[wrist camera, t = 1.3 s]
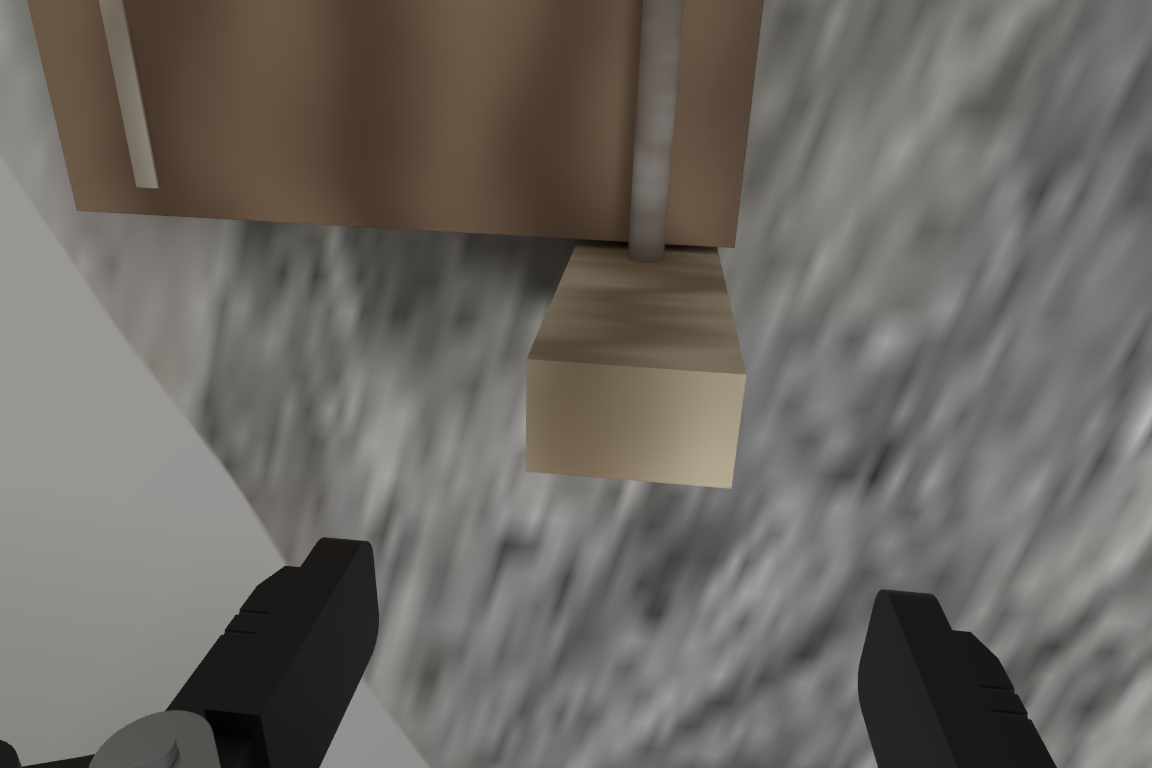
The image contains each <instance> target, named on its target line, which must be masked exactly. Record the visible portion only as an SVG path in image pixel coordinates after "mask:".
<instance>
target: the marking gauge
mask: <svg viewBox="0 0 1152 768" xmlns="http://www.w3.org/2000/svg"><path fill="white" fill-rule="evenodd" d="M683 7H684V0H643V12H642V29H641V45H640V62H639V79H638V95H637V112H636V129H635V145H634V162H633V179H632V196H631V212H630V229H629V242H622V241H604V240H587V239H578V241H577V243H576V246H575V248H574V250H573V253H572V255H571V257H570V260H569V262H568V264H567V267H566V269H565V271H564V274H563V276H562V278H561V281H560V283H559V285H558V288H557V290H556V292H555V295H554V297H553V299H552V302H551V304H550V306H549V309H548V311H547V313H546V316H545V318H544V320H543V322H542V325H541V327H540V329H539V332H538V334H537V336H536V339H535V341H534V343H533V346H532V348H531V350H530V353H529V355H528V357H527V400H526V472H538V473H550V474H562V475H574V476H586V477H598V478H610V479H623V480H635V481H647V482H659V483H671V484H683V485H695V486H707V487H720V488H731V487H732V479H733V472H734V464H735V457H736V449H737V442H738V434H739V427H740V419H741V412H742V404H743V397H744V389H745V382H746V371H745V366H744V362H743V358H742V353H741V349H740V345H739V341H738V336H737V332H736V328H735V323H734V319H733V315H732V310H731V306H730V302H729V298H728V293H727V289H726V285H725V280H724V276H723V272H722V267H721V263H720V259H719V255H718V250H717V247H710V246H693V245H675V244H665V233H666V221H667V208H668V195H669V183H670V170H671V158H672V145H673V132H674V120H675V107H676V95H677V82H678V70H679V57H680V44H681V32H682V19H683Z"/></svg>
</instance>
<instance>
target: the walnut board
mask: <svg viewBox="0 0 1152 768" xmlns="http://www.w3.org/2000/svg"><path fill="white" fill-rule="evenodd" d="M27 1H28V5H29V9H30V13H31V18H32V22H33V26H34V30H35V34H36V39H37V43H38V47H39V51H40V56H41V60H42V64H43V68H44V73H45V77H46V81H47V85H48V90H49V94H50V98H51V102H52V107H53V111H54V115H55V119H56V123H57V128H58V132H59V136H60V140H61V145H62V149H63V153H64V157H65V162H66V166H67V170H68V174H69V179H70V183H71V187H72V191H73V195H74V200H75V204H76V208H77V211H92V212H110V213H128V214H145V215H163V216H180V217H198V218H216V219H233V220H251V221H269V222H286V223H304V224H322V225H339V226H357V227H375V228H392V229H410V230H428V231H445V232H463V233H481V234H498V235H516V236H534V237H551V238H569V239H587V240H604V241H622V242H629V229H630V212H631V196H632V179H633V162H634V145H635V129H636V112H637V95H638V79H639V62H640V45H641V29H642V12H643V0H27ZM763 1H764V0H684V7H683V19H682V32H681V44H680V57H679V70H678V82H677V95H676V107H675V120H674V132H673V145H672V158H671V170H670V183H669V195H668V208H667V221H666V233H665V244H675V245H693V246H710V247H728V248H734V247H735V238H736V230H737V221H738V213H739V204H740V196H741V187H742V179H743V170H744V162H745V153H746V145H747V136H748V128H749V119H750V111H751V102H752V94H753V85H754V77H755V68H756V60H757V52H758V43H759V35H760V26H761V18H762V9H763Z"/></svg>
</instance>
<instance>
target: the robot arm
mask: <svg viewBox="0 0 1152 768" xmlns="http://www.w3.org/2000/svg"><path fill="white" fill-rule="evenodd" d="M378 627H379V610H378V600H377V589H376V578H375V567H374V557H373V549H372V546H371V544H370V542H368V541H360V540H349V539H338V538H327V537H323V538H321V539H320V540H319V541H318V542H317V543H316V545H315V546H314V548H313V549H312V551H311V552H310V554H309V555H308V557H307V558H306V559H305V561H304V562H303V564H302V565H301V567H292V566H284V567H283V568H281V569H280V570H279V571H277V572H276V573H275V574H273V575H272V576H270V577H269V578H267V579H266V580H264V581H263V582H262V583H260V584H259V585H257V587H256V588H255V590H254V591H253V592H252V594H251V595H250V596H249V598H248V599H247V600H246V602H245V603H244V604H243V606H242V607H241V608H240V612H239V615H235V617H234V618H233V619H232V621H231V622H230V624H229V625H228V626H227V628H226V629H225V633H224V635H221V636H220V637H219V639H218V640H217V641H216V643H215V644H214V645H213V647H212V648H211V649H210V651H209V652H208V653H207V655H206V656H205V657H204V659H203V660H202V662H201V663H200V664H199V666H198V667H197V668H196V670H195V671H194V672H193V674H192V675H191V677H190V678H189V679H188V681H187V682H186V683H185V685H184V686H183V687H182V689H181V690H180V692H179V693H178V694H177V696H176V697H175V698H174V700H173V701H172V702H171V704H170V705H169V707H168V708H167V709H166V710H165V711H164V712H159V713H155V714H151V715H148V716H145V717H143V718H140V719H138V720H136V721H134V722H132V723H130V724H128V725H126V726H125V727H123V728H122V729H120V730H119V731H117V732H116V733H115V734H113V735H112V736H111V737H110V738H109V739H108V740H107V741H106V742H105V743H104V744H103V745H102V746H101V747H100V748H99V750H98V751H97V752H96V754H93V755H89V756H84V757H78V758H71V759H66V760H59V761H53V762H48V763H41V764H35V765H29V766H24V767H22V766H21V763H20V761H19V758H18V755H17V753H16V751H15V749H14V748H13V747H12V746H11V745H10V744H8V743H7V742H5V741H2V740H0V768H319V767H320V765H321V763H322V761H323V759H324V756H325V754H326V752H327V750H328V748H329V746H330V744H331V741H332V739H333V737H334V735H335V733H336V731H337V729H338V726H339V724H340V722H341V720H342V718H343V716H344V714H345V712H346V709H347V707H348V705H349V703H350V701H351V699H352V697H353V694H354V692H355V690H356V688H357V686H358V684H359V682H360V680H361V678H362V675H363V673H364V671H365V669H366V667H367V665H368V663H369V660H370V658H371V656H372V654H373V651H374V648H375V644H376V640H377V635H378ZM858 694H859V702H860V706H861V710H862V714H863V717H864V721H865V724H866V727H867V731H868V734H869V738H870V741H871V745H872V748H873V751H874V755H875V758H876V762H877V765H878V768H1057V767H1056V765H1055V763H1054V761H1053V760H1052V758H1051V756H1050V754H1049V752H1048V750H1047V748H1046V747H1045V745H1044V743H1043V741H1042V739H1041V737H1040V735H1039V733H1038V732H1037V730H1036V728H1035V726H1034V724H1033V722H1032V720H1030V719H1028V717H1027V714H1028V713H1027V711H1026V709H1025V707H1024V705H1023V704H1022V702H1021V700H1020V698H1019V696H1018V694H1015V693H1014V687H1013V685H1012V683H1011V681H1010V679H1009V677H1008V675H1007V674H1006V672H1005V670H1004V668H1003V666H1002V664H1001V662H1000V661H999V659H998V658H997V657H996V656H995V655H994V654H993V653H992V652H991V651H990V650H989V649H988V648H987V647H986V646H985V645H984V644H983V643H981V642H980V641H979V640H978V639H977V638H976V637H975V636H974V635H973V634H972V633H971V632H965V631H955V630H952V629H951V627H950V624H949V622H948V620H947V618H946V616H945V614H944V612H943V610H942V608H941V606H940V604H939V602H938V600H937V598H936V597H935V596H934V595H933V594H927V593H916V592H905V591H894V590H883V589H882V590H880V591H879V592H878V594H877V596H876V599H875V602H874V606H873V610H872V614H871V618H870V622H869V627H868V631H867V635H866V639H865V643H864V647H863V651H862V655H861V659H860V664H859V670H858Z"/></svg>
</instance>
